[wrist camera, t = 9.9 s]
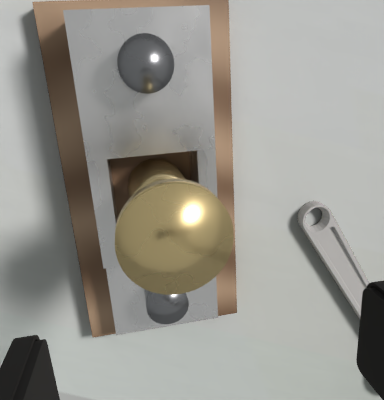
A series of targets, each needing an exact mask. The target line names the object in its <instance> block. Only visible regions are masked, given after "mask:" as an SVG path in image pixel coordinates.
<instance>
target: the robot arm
mask: <svg viewBox="0 0 384 400" xmlns="http://www.w3.org/2000/svg"><path fill="white" fill-rule="evenodd" d="M357 365H358V368H359V370H360V372H361V374H362V375H363V376H364V377H365V378H366V380H367V381H368V382H369V383H370V385H371V386H372V387H373V388H374V389H375V391H376V392H377V393H378V394H379V396H380V397H381V398H382V399H383V400H384V281H378V282H372V283H369V284H368V285H367V288H366V289H364V290H363V293H362V304H361V316H360V327H359V339H358V350H357ZM0 400H60V399H59V394H58V390H57V385H56V381H55V376H54V372H53V367H52V363H51V358H50V354H49V349H48V345H47V341H46V340H45V339H44V340H40V339H39V337H38V336H37V335H33V336H27V337H21V338H15V339H14V340H13V341H12V343H11V346H10V348H9V350H8V352H7V354H6V357H5V359H4V361H3V363H2V365H1V368H0Z"/></svg>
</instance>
